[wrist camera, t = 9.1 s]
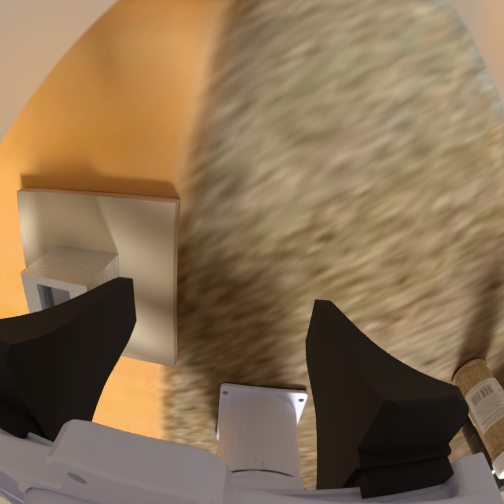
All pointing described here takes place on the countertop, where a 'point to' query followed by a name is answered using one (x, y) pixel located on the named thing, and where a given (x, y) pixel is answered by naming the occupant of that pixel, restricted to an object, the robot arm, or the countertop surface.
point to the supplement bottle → (479, 448)
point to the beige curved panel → (115, 241)
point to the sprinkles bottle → (484, 408)
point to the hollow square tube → (67, 274)
